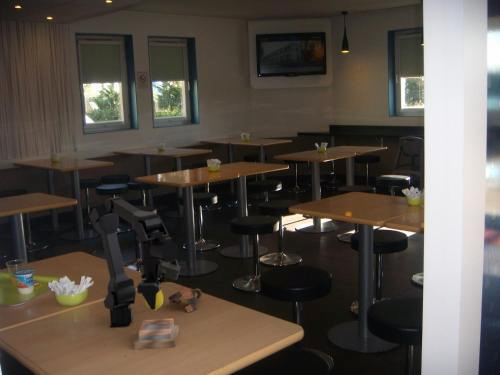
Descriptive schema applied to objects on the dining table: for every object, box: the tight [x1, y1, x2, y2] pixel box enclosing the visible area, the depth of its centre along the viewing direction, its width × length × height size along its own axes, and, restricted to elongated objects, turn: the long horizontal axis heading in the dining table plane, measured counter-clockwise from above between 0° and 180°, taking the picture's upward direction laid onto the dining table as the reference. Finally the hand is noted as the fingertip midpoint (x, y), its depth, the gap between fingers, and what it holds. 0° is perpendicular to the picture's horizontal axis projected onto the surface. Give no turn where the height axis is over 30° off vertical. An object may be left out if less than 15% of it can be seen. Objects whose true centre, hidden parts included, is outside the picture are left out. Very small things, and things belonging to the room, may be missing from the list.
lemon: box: [144, 288, 164, 312], centre depth 172 cm, size 6×6×8 cm
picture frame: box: [133, 318, 180, 350], centre depth 174 cm, size 12×12×5 cm
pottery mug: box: [168, 287, 203, 314], centre depth 200 cm, size 12×10×8 cm
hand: (154, 305), depth 173 cm, fingers closed on lemon, 5 cm apart
